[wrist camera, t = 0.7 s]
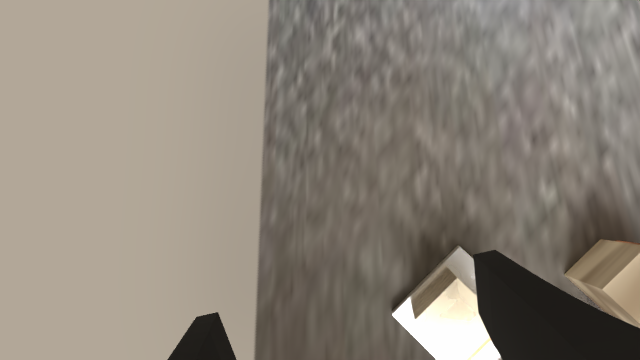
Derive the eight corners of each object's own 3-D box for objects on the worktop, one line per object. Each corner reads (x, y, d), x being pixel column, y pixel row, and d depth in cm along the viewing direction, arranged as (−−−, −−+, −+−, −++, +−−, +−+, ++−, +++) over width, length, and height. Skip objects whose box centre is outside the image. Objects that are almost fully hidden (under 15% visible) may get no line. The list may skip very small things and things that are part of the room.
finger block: (645, 271, 32) (703, 285, 26) (604, 311, 32) (651, 334, 26) (604, 235, 33) (651, 241, 27) (564, 274, 33) (602, 289, 27)
